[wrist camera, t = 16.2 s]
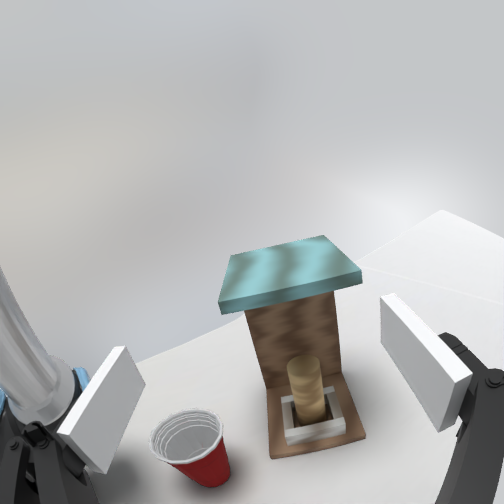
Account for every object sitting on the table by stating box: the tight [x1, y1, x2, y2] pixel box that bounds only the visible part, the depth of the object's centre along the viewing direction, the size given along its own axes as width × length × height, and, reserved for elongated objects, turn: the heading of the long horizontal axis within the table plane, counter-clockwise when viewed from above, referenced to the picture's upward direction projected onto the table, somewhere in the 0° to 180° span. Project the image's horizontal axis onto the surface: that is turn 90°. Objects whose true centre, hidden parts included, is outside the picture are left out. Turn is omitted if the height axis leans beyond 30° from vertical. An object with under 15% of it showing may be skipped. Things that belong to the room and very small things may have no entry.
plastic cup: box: [149, 408, 230, 487], centre depth 32 cm, size 11×11×12 cm
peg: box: [287, 355, 326, 427], centre depth 38 cm, size 5×5×13 cm
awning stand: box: [218, 235, 366, 459], centre depth 39 cm, size 15×18×28 cm
